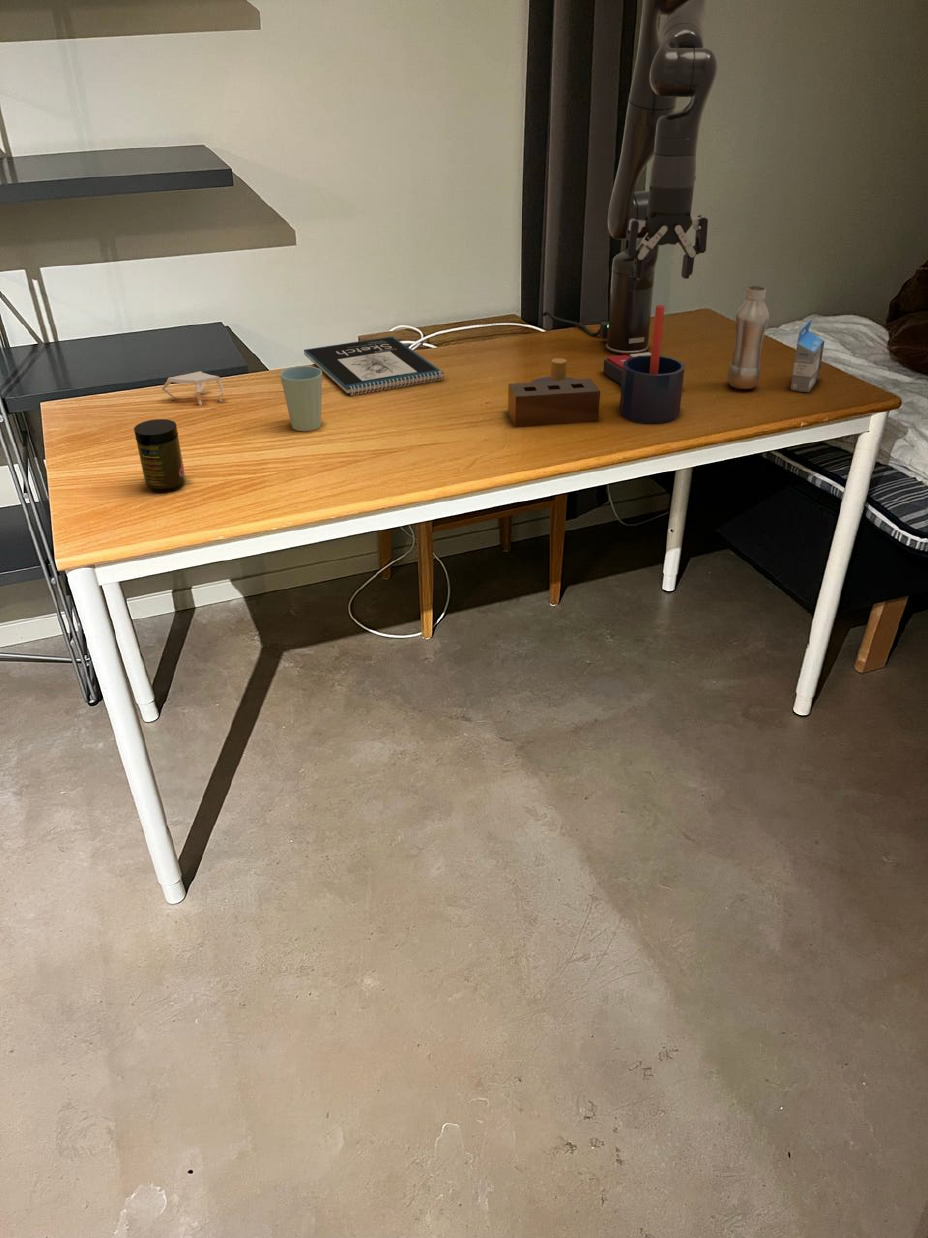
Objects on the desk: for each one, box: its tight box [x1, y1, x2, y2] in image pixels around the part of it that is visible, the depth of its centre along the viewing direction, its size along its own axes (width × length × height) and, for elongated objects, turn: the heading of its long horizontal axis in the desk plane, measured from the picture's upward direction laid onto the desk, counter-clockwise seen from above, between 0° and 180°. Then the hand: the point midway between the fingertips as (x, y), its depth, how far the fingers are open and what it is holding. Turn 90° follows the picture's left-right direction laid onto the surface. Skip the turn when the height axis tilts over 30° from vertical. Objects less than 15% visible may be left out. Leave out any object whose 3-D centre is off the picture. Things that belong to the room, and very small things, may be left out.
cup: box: [279, 365, 323, 432], centre depth 185 cm, size 8×8×10 cm
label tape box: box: [790, 318, 825, 393], centre depth 201 cm, size 9×4×12 cm, turn 150°
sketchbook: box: [303, 336, 445, 396], centre depth 215 cm, size 22×30×2 cm
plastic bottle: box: [727, 285, 770, 390], centre depth 198 cm, size 6×7×20 cm
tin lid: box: [530, 357, 576, 382], centre depth 200 cm, size 13×13×7 cm
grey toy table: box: [161, 370, 226, 406], centre depth 199 cm, size 12×8×5 cm
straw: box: [649, 304, 666, 374], centre depth 187 cm, size 2×2×20 cm
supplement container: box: [133, 418, 187, 493], centre depth 164 cm, size 7×7×10 cm
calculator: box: [603, 351, 651, 386], centre depth 206 cm, size 11×4×15 cm
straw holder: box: [507, 378, 601, 428], centre depth 189 cm, size 7×16×6 cm, turn 99°
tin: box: [618, 355, 686, 425], centre depth 190 cm, size 11×11×10 cm
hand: (662, 278), depth 179 cm, fingers open, 8 cm apart
